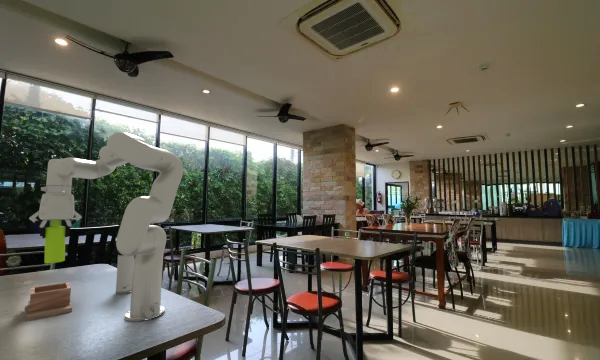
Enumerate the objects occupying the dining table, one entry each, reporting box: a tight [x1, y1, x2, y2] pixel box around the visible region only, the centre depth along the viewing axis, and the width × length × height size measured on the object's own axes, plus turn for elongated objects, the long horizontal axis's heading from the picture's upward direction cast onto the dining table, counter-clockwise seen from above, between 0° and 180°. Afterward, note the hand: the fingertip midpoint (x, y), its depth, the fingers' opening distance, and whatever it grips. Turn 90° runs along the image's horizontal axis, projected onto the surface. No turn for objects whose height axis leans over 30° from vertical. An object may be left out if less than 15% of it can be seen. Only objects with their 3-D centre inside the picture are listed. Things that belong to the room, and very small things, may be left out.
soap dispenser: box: [44, 220, 66, 264], centre depth 107 cm, size 6×7×20 cm
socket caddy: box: [25, 281, 73, 322], centre depth 105 cm, size 20×12×8 cm, turn 43°
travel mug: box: [115, 250, 135, 295], centre depth 125 cm, size 6×7×20 cm
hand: (55, 236), depth 107 cm, fingers closed on soap dispenser, 6 cm apart
